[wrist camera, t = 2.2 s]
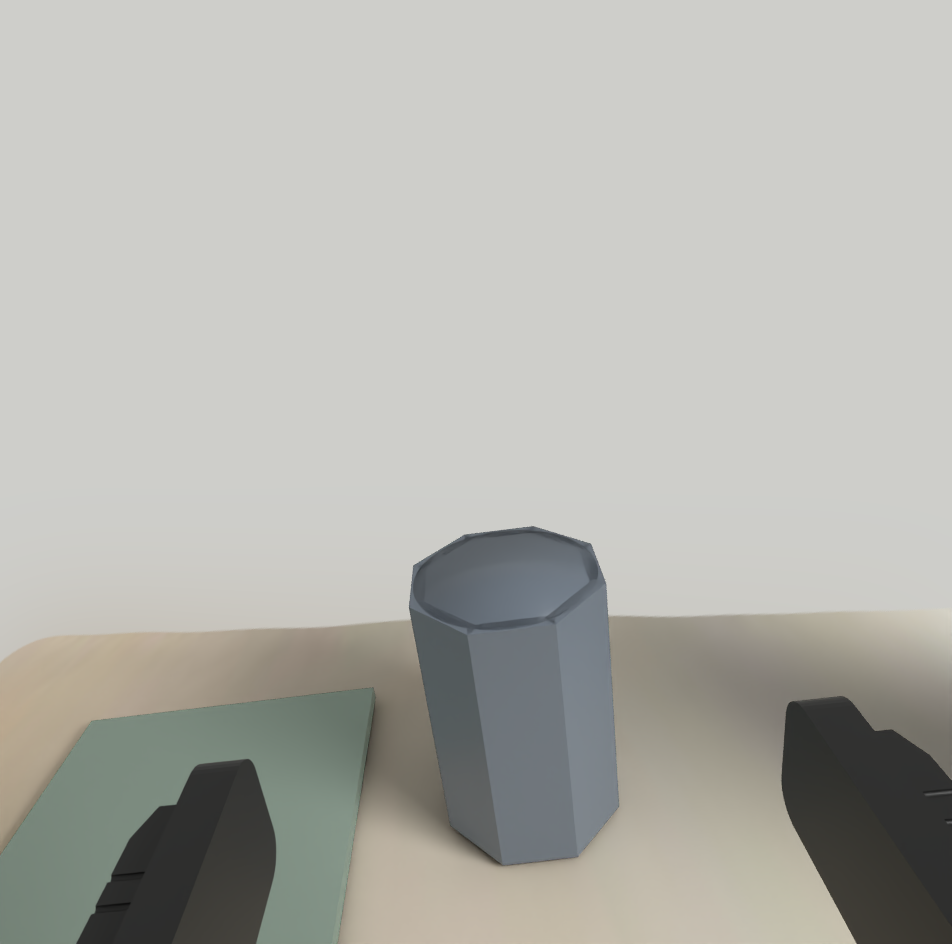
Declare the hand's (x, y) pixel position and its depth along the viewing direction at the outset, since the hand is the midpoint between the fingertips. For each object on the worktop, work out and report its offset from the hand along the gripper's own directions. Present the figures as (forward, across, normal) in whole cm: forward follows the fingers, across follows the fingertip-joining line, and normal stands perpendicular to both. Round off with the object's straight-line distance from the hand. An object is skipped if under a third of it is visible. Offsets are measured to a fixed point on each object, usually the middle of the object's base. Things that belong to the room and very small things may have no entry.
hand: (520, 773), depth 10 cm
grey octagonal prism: (+13, 0, +14) cm, 19 cm away
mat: (+13, +14, +14) cm, 24 cm away
